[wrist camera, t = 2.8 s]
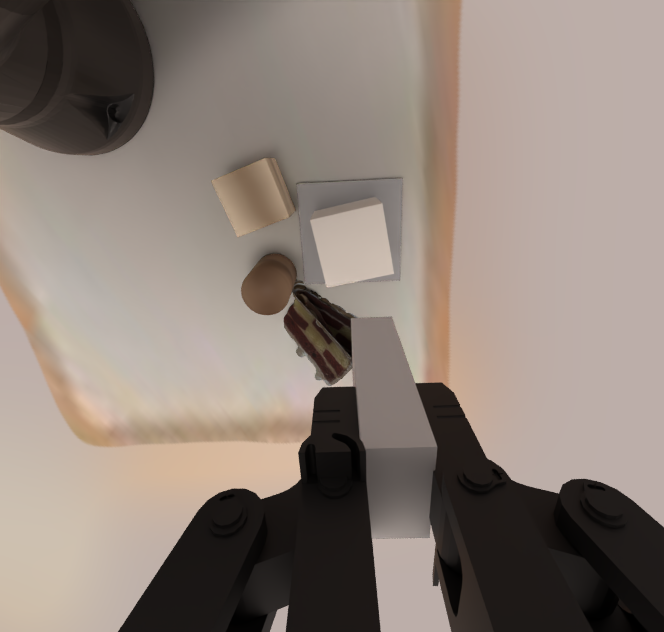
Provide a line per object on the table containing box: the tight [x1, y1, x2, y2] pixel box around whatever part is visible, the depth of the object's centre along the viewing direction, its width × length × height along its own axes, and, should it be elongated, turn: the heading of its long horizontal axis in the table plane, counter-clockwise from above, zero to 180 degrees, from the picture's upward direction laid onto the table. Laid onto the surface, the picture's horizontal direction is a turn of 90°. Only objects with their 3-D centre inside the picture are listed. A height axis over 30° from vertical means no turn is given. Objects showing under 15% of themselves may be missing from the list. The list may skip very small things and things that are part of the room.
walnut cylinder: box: [241, 254, 297, 315], centre depth 35 cm, size 4×4×6 cm
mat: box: [297, 178, 403, 284], centre depth 36 cm, size 10×10×1 cm
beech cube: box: [211, 158, 295, 237], centre depth 32 cm, size 5×5×5 cm
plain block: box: [310, 197, 394, 288], centre depth 33 cm, size 6×6×6 cm
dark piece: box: [284, 280, 358, 386], centre depth 39 cm, size 10×7×12 cm
